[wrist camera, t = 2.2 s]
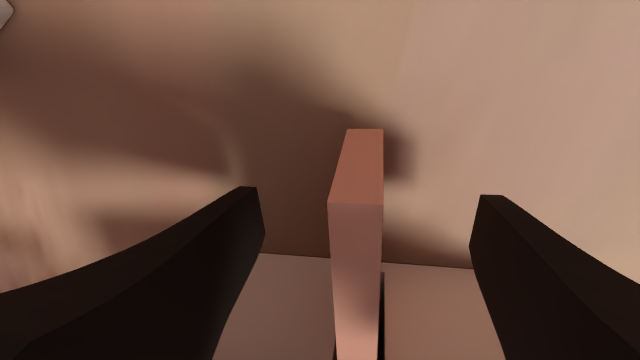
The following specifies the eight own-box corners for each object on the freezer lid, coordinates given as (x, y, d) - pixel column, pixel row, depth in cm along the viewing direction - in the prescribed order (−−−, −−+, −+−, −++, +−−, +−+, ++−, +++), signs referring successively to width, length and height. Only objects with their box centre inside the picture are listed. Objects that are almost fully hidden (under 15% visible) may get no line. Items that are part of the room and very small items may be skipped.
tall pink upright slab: (383, 129, 10) (383, 205, 6) (375, 346, 16) (372, 453, 12) (347, 128, 11) (326, 202, 7) (352, 343, 16) (343, 447, 13)
